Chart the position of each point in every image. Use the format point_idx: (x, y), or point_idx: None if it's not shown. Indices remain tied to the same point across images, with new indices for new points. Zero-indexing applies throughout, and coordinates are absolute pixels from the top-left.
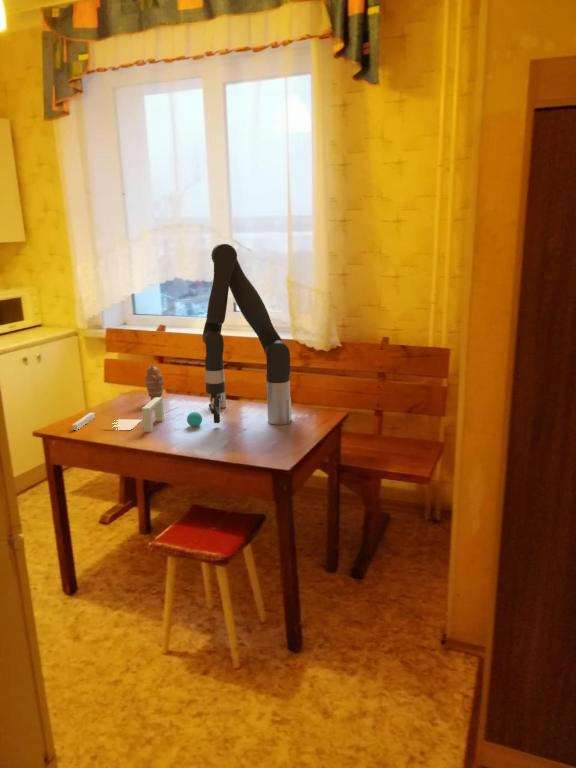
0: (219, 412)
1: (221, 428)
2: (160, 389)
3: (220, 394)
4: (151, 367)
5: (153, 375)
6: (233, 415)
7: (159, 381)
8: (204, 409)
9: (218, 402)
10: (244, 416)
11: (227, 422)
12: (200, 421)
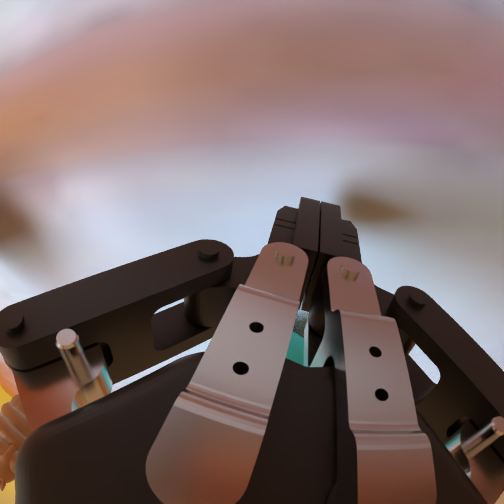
0: (345, 266)
1: (364, 167)
2: (18, 421)
3: (64, 473)
4: (3, 488)
5: (12, 470)
6: (41, 102)
7: (7, 441)
8: (13, 277)
9: (409, 437)
10: (57, 13)
11: (193, 117)
12: (302, 348)
